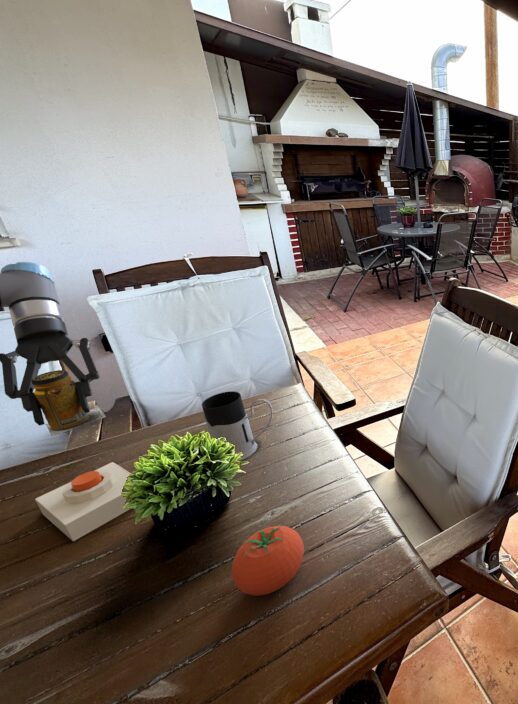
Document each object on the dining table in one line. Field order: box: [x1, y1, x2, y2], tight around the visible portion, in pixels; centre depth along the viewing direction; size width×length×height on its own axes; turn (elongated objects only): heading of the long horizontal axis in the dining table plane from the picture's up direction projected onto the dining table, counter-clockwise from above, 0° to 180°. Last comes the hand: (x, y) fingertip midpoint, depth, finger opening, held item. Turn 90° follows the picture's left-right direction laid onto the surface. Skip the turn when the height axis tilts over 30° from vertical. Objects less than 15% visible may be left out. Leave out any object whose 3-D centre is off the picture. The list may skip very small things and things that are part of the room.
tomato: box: [231, 525, 305, 597], centre depth 66 cm, size 10×10×10 cm
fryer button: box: [70, 470, 102, 492], centre depth 80 cm, size 4×4×2 cm
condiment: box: [32, 369, 107, 437], centre depth 87 cm, size 7×8×12 cm
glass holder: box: [201, 390, 274, 461], centre depth 96 cm, size 9×14×15 cm, turn 105°
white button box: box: [34, 461, 132, 542], centre depth 81 cm, size 14×12×6 cm
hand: (63, 416), depth 84 cm, fingers closed on condiment, 6 cm apart
